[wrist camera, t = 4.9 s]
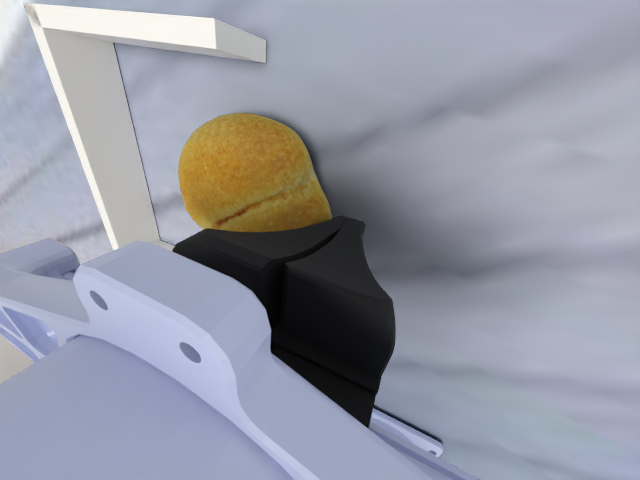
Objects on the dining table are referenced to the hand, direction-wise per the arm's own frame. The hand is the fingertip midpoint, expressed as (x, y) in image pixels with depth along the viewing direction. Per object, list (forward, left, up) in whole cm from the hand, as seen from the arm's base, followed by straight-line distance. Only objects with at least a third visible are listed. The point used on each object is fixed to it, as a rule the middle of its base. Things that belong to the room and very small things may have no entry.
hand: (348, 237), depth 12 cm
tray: (0, +11, -1) cm, 11 cm away
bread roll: (0, +5, -2) cm, 5 cm away
